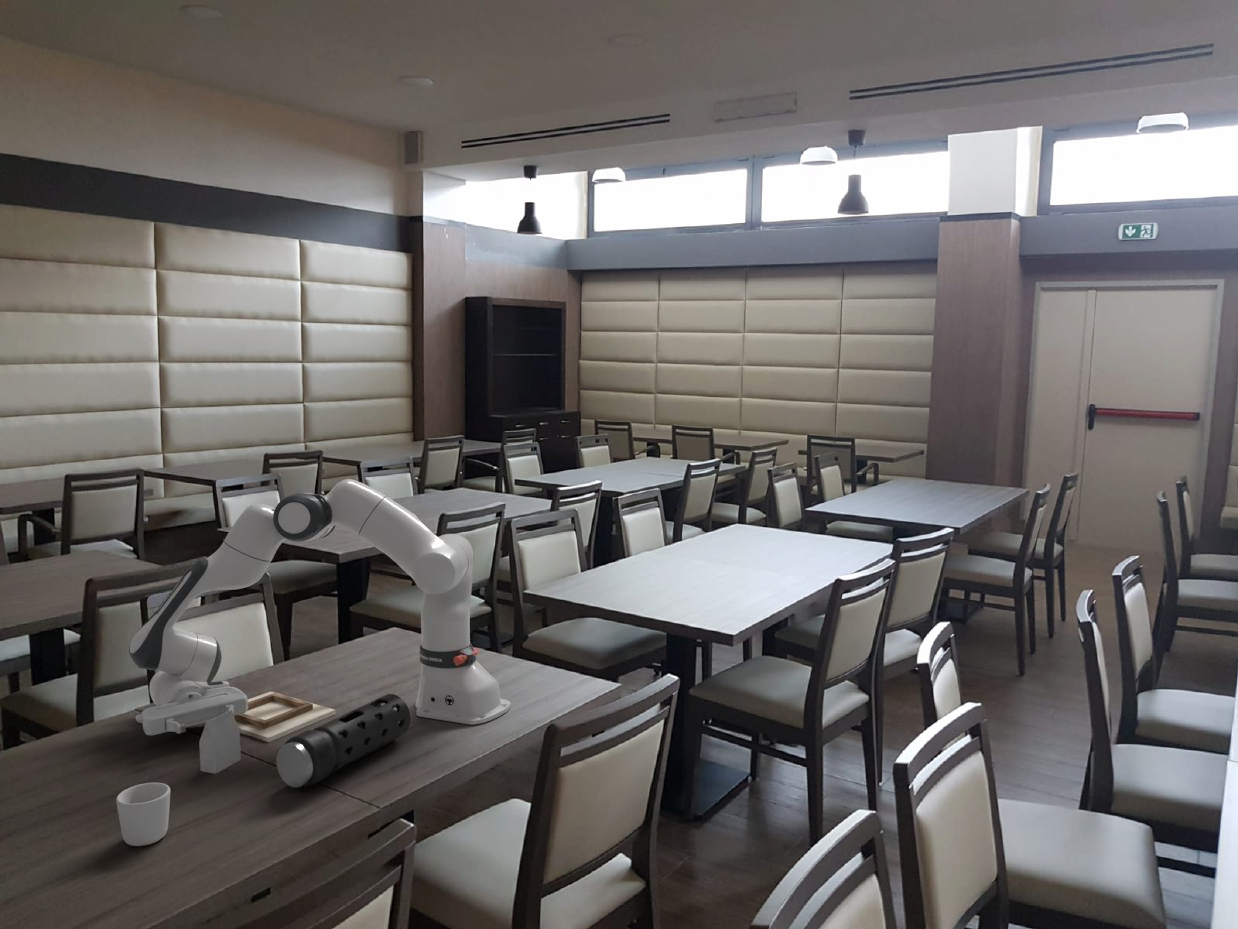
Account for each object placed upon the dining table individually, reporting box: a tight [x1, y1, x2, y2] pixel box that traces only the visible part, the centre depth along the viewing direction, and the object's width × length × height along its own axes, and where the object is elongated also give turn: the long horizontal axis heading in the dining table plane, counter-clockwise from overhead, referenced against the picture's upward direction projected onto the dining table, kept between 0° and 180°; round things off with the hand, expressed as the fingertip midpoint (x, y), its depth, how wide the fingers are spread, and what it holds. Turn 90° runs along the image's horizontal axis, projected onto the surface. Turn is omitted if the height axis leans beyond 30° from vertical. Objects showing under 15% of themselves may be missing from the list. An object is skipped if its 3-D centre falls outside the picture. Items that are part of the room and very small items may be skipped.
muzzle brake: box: [275, 693, 411, 789], centre depth 179 cm, size 10×28×10 cm, turn 153°
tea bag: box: [198, 710, 242, 774], centre depth 178 cm, size 4×7×10 cm, turn 161°
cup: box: [115, 782, 171, 847], centre depth 152 cm, size 11×8×8 cm
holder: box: [234, 691, 337, 743], centre depth 203 cm, size 22×18×2 cm
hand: (206, 723), depth 185 cm, fingers open, 8 cm apart
